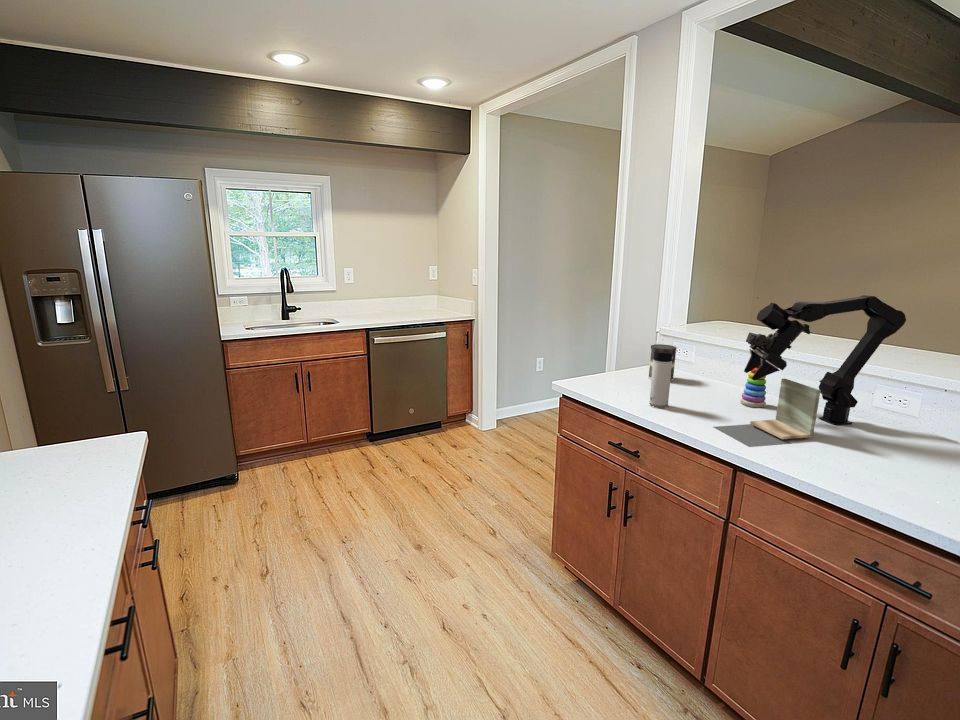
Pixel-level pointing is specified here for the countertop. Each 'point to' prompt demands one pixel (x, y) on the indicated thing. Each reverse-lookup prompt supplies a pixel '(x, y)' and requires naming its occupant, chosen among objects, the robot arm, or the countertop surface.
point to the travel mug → (660, 379)
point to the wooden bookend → (793, 412)
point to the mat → (751, 435)
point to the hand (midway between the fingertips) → (748, 375)
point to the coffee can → (662, 349)
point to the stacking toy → (754, 391)
